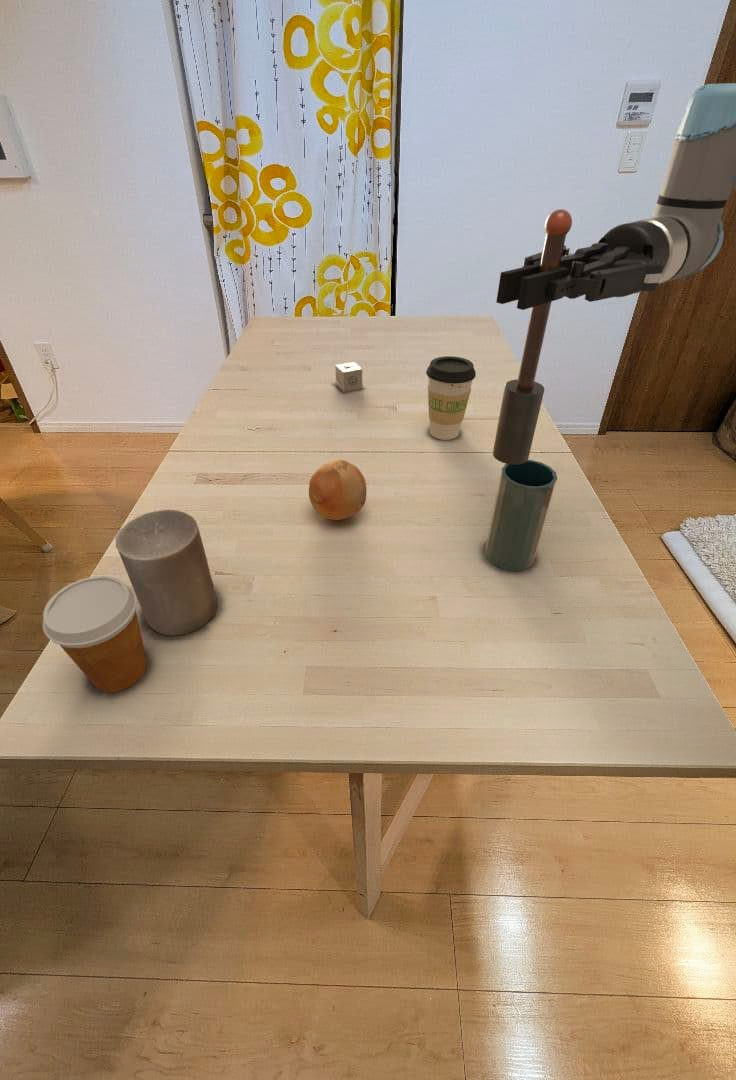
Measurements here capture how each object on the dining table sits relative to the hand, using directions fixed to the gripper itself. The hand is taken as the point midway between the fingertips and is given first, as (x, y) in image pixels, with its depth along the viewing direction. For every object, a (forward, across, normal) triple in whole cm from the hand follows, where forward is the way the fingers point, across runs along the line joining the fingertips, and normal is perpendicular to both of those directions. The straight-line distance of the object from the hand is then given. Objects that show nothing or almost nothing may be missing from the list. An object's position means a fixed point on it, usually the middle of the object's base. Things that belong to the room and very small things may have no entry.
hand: (512, 291), depth 49 cm
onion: (+3, +26, -40) cm, 48 cm away
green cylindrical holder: (-11, 0, -40) cm, 42 cm away
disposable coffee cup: (+43, +18, -40) cm, 61 cm away
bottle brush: (-6, 0, -20) cm, 21 cm away
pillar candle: (+33, +22, -40) cm, 56 cm away
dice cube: (-32, +66, -40) cm, 84 cm away
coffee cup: (-33, +34, -40) cm, 62 cm away
